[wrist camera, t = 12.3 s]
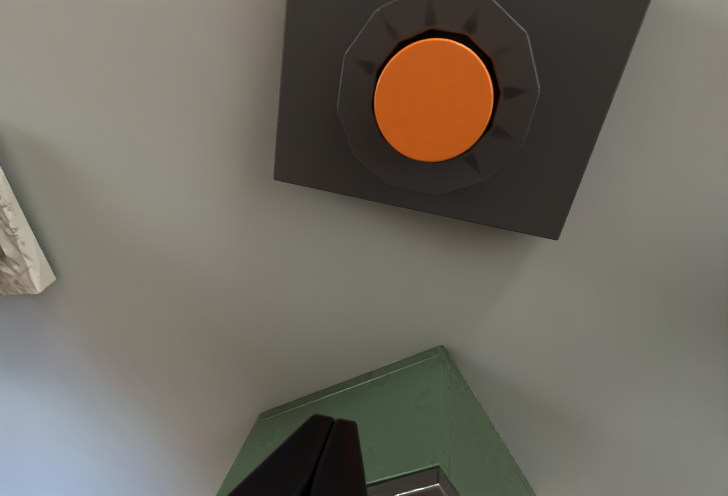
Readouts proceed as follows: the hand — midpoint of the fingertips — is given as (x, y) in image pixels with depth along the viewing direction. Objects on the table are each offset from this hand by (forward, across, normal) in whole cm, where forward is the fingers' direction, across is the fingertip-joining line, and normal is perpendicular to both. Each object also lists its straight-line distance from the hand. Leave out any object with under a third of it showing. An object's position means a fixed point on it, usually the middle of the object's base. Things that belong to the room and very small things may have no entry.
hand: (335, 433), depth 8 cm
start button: (+10, -1, -5) cm, 11 cm away
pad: (+13, -1, -5) cm, 14 cm away
